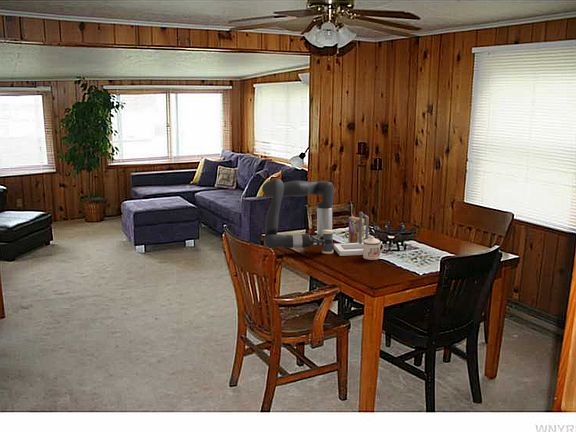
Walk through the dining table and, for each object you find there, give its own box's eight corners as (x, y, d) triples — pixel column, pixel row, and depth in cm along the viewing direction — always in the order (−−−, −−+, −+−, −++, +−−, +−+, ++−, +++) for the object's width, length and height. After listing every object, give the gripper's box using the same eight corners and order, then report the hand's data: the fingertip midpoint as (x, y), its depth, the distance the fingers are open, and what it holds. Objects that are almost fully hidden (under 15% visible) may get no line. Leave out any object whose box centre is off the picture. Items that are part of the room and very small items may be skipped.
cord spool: (320, 251, 312) (321, 229, 309) (332, 250, 313) (332, 229, 310) (323, 254, 306) (323, 232, 303) (334, 253, 307) (334, 232, 304)
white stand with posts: (333, 248, 318) (333, 212, 313) (368, 246, 320) (368, 211, 316) (339, 255, 302) (340, 218, 298) (376, 254, 305) (377, 216, 300)
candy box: (364, 244, 325) (364, 218, 322) (359, 245, 323) (359, 219, 319) (353, 241, 332) (353, 216, 329) (348, 242, 329) (348, 217, 326)
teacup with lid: (368, 261, 292) (368, 239, 290) (359, 256, 300) (360, 235, 298) (388, 258, 296) (388, 237, 294) (379, 254, 305) (379, 233, 302)
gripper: (302, 237, 298) (332, 236, 300) (298, 231, 312) (327, 230, 314) (302, 251, 300) (332, 249, 302) (298, 244, 314) (327, 243, 316)
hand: (330, 239), depth 308 cm, fingers open, 8 cm apart
